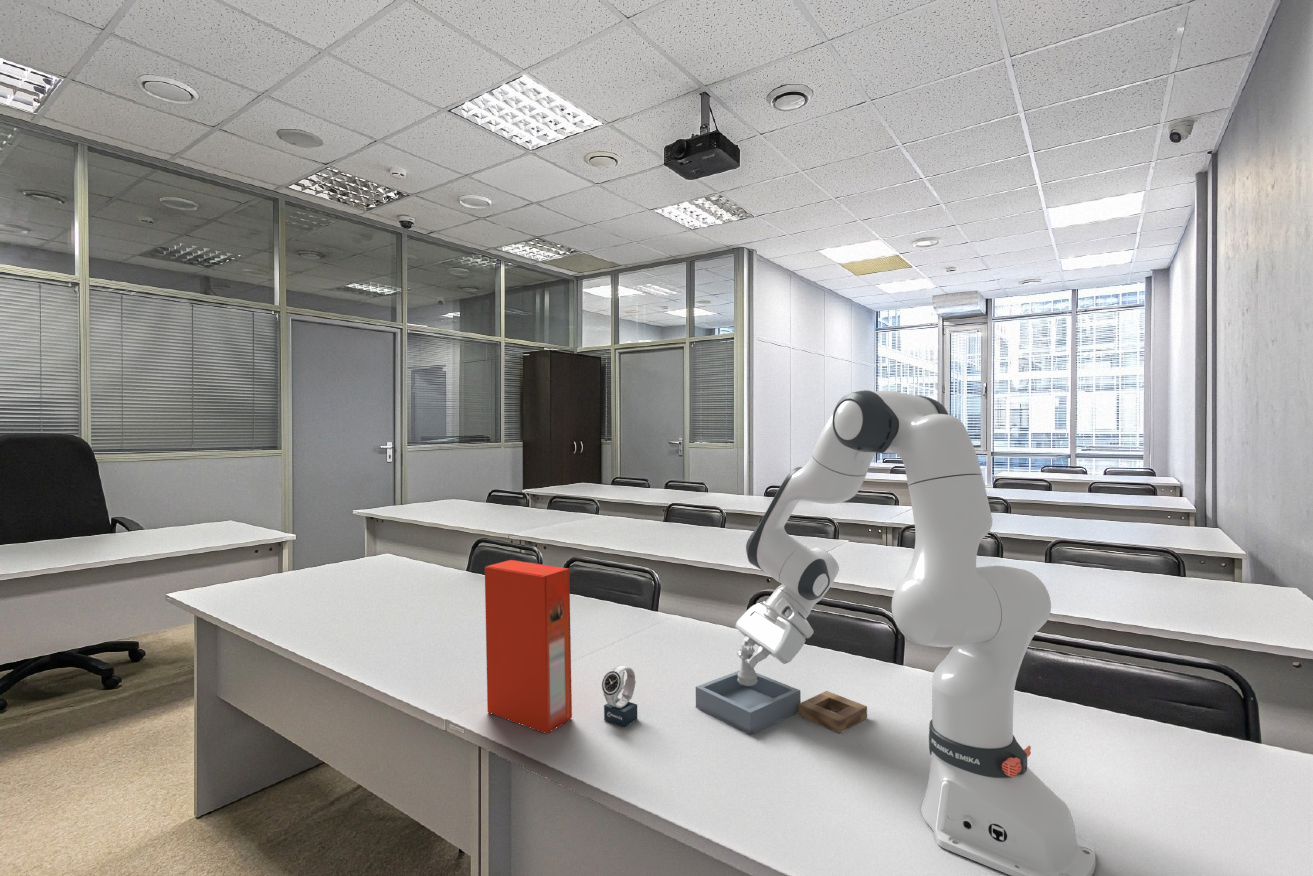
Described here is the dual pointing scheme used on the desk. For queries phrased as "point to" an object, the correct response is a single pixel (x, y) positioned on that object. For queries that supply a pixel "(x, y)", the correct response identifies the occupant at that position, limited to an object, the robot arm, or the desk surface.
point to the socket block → (838, 722)
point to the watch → (615, 707)
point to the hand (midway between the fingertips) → (744, 661)
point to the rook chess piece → (747, 667)
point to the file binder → (528, 643)
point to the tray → (748, 702)
